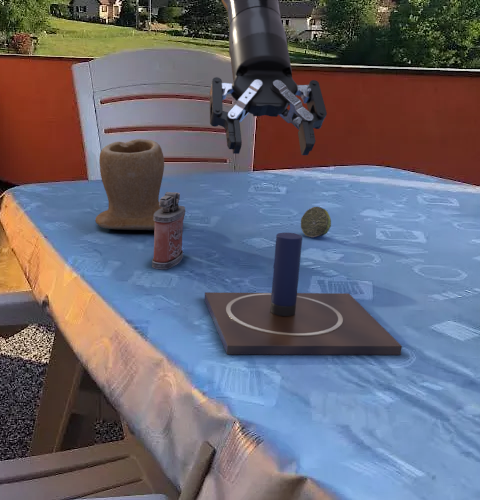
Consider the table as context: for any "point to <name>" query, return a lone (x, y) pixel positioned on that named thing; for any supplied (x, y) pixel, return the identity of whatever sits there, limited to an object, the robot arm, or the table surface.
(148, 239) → the table surface
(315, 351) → the brown wooden board
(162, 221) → the lighter
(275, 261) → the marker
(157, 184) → the stone cup
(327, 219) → the lime
